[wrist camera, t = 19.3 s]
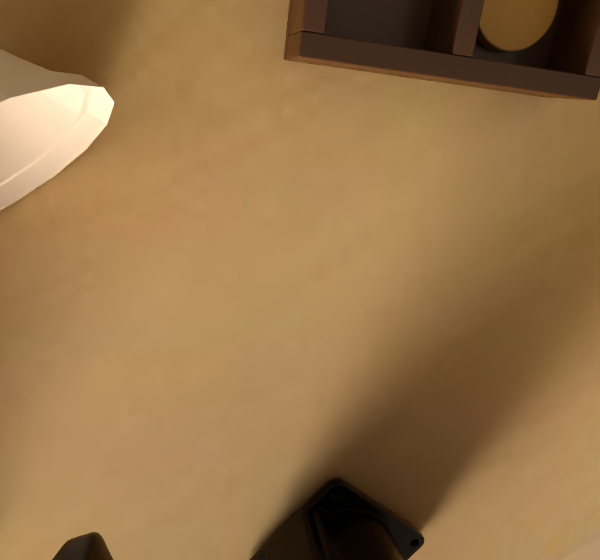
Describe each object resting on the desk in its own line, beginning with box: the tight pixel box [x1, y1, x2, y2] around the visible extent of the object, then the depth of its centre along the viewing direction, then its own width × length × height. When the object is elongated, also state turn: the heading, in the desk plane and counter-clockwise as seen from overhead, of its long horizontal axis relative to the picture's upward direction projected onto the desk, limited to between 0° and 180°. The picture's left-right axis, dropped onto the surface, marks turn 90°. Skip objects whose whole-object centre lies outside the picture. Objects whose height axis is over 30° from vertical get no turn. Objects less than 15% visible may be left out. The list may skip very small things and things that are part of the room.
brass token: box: [477, 0, 558, 52], centre depth 18 cm, size 3×3×1 cm
